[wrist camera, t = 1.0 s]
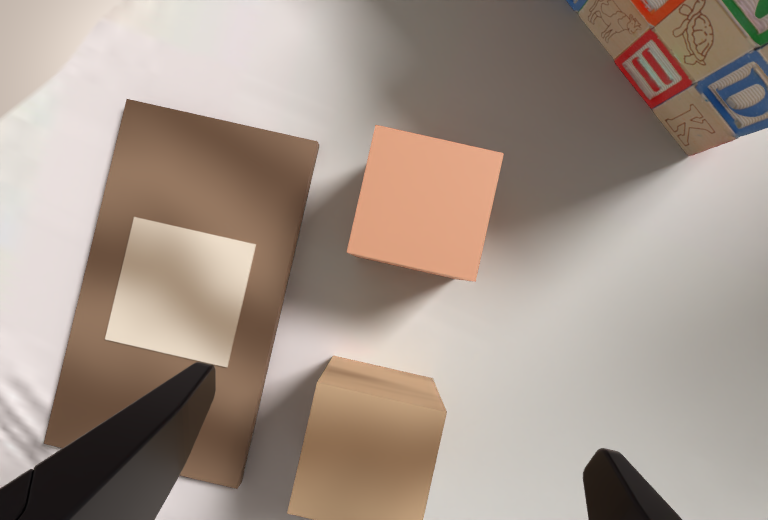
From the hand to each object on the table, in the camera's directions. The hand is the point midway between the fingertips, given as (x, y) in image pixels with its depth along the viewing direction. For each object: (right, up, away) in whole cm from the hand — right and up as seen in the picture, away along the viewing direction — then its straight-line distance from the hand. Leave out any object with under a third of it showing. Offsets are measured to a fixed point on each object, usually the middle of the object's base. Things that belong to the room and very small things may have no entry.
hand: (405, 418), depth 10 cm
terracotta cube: (+1, +6, +11) cm, 13 cm away
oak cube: (-1, -4, +11) cm, 12 cm away
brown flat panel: (-10, +2, +11) cm, 15 cm away
